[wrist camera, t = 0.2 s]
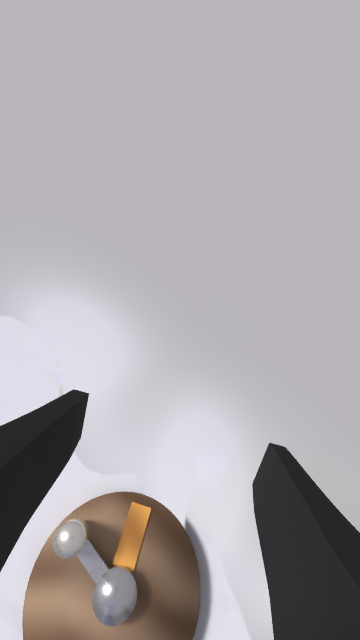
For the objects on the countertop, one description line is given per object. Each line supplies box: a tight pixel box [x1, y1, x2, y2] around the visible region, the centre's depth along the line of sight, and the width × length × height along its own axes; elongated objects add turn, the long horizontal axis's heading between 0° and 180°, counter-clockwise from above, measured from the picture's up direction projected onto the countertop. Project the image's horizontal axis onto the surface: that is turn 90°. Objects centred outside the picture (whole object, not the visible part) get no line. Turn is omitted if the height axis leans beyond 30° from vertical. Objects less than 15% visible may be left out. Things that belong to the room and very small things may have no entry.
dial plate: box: [23, 492, 200, 640], centre depth 32 cm, size 18×18×2 cm
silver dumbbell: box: [53, 518, 137, 626], centre depth 30 cm, size 11×4×4 cm, turn 44°
